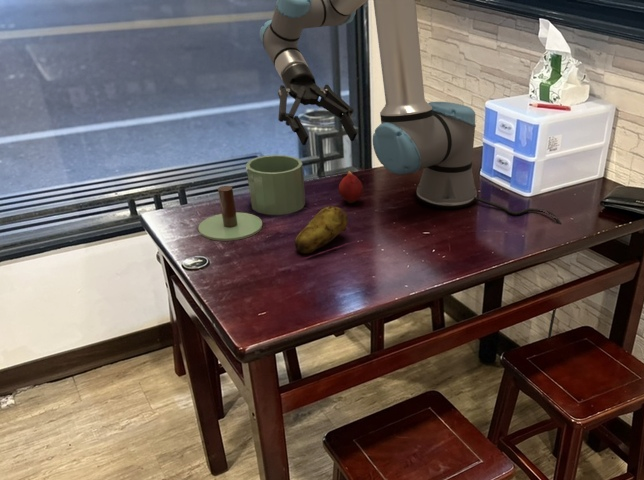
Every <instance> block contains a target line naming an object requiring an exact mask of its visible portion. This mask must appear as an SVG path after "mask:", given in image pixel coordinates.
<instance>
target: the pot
mask: <svg viewBox="0 0 644 480" xmlns="http://www.w3.org/2000/svg"><path fill="white" fill-rule="evenodd" d="M303 165H304V164H303V162H302V160H301V159H300V158H297V157H295V156H291V155H286V154H284V155H283V154H271V155H270V154H269V155H261V156H258V157H255V158H253V159H250V160H248V161H247V162H246V164H245V168H246V177H247V184H248V185H247V186H248V191H249V200H250V206H251V209H252V210H253V211H254V212H256V213H258V214H263V215H269V216H280V215H282V216H283V215H289V214H292V213H296V212H299V211H300V210H302V209H303V208H304V207H305V206H306V192H305V191H306V189H305V179H304V166H303Z"/></svg>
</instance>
